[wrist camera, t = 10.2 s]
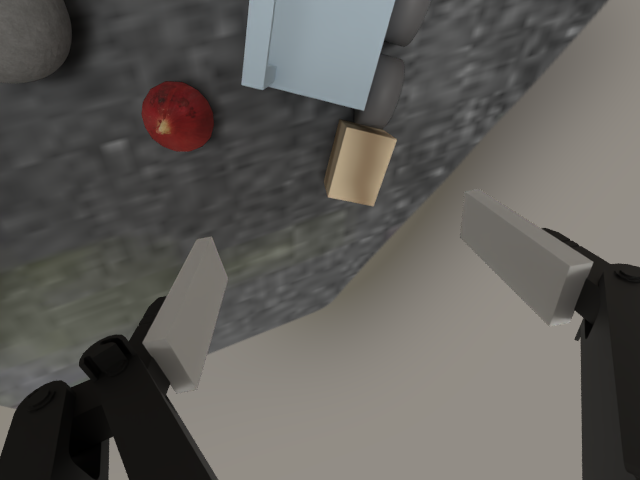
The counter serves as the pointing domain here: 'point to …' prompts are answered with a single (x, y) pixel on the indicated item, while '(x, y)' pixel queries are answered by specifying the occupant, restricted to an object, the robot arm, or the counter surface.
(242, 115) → the counter surface
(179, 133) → the red rounded piece
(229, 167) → the counter surface
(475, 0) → the counter surface
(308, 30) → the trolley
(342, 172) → the block
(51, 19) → the decorative ball
